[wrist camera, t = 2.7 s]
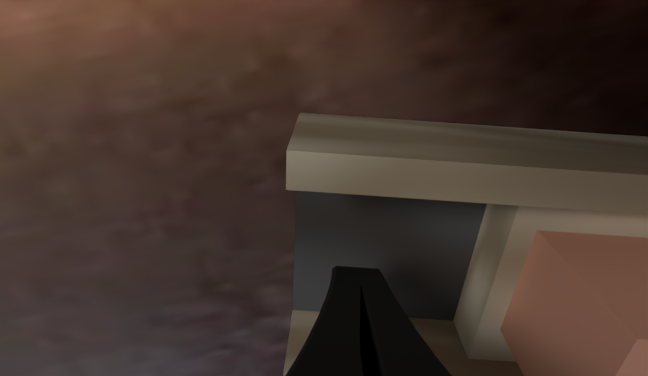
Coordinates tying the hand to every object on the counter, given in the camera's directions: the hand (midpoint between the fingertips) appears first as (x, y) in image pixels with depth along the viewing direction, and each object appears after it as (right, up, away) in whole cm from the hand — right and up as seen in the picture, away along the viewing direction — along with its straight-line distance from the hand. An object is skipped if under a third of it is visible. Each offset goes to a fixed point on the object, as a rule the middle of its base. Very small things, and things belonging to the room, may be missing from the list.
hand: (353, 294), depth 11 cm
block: (+7, 0, +1) cm, 7 cm away
